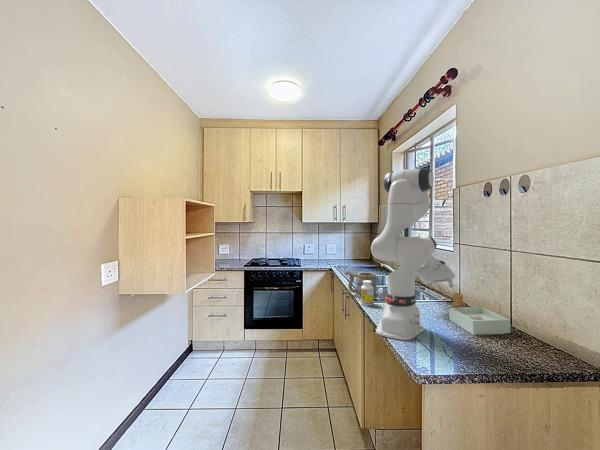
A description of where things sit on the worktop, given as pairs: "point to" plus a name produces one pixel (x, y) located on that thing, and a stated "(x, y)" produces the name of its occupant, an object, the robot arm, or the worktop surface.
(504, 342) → the worktop surface
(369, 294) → the supplement bottle
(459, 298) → the peg
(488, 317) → the bore box
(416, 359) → the worktop surface
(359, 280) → the tankard
